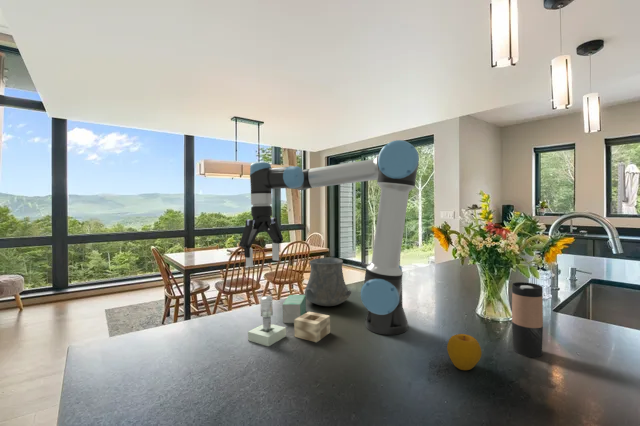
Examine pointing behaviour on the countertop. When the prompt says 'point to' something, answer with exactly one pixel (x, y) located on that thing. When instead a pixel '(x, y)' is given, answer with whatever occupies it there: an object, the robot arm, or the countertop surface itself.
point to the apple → (464, 351)
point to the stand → (266, 335)
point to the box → (293, 308)
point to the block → (312, 326)
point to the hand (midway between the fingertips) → (263, 263)
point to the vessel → (326, 282)
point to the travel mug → (527, 319)
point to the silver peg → (266, 312)
